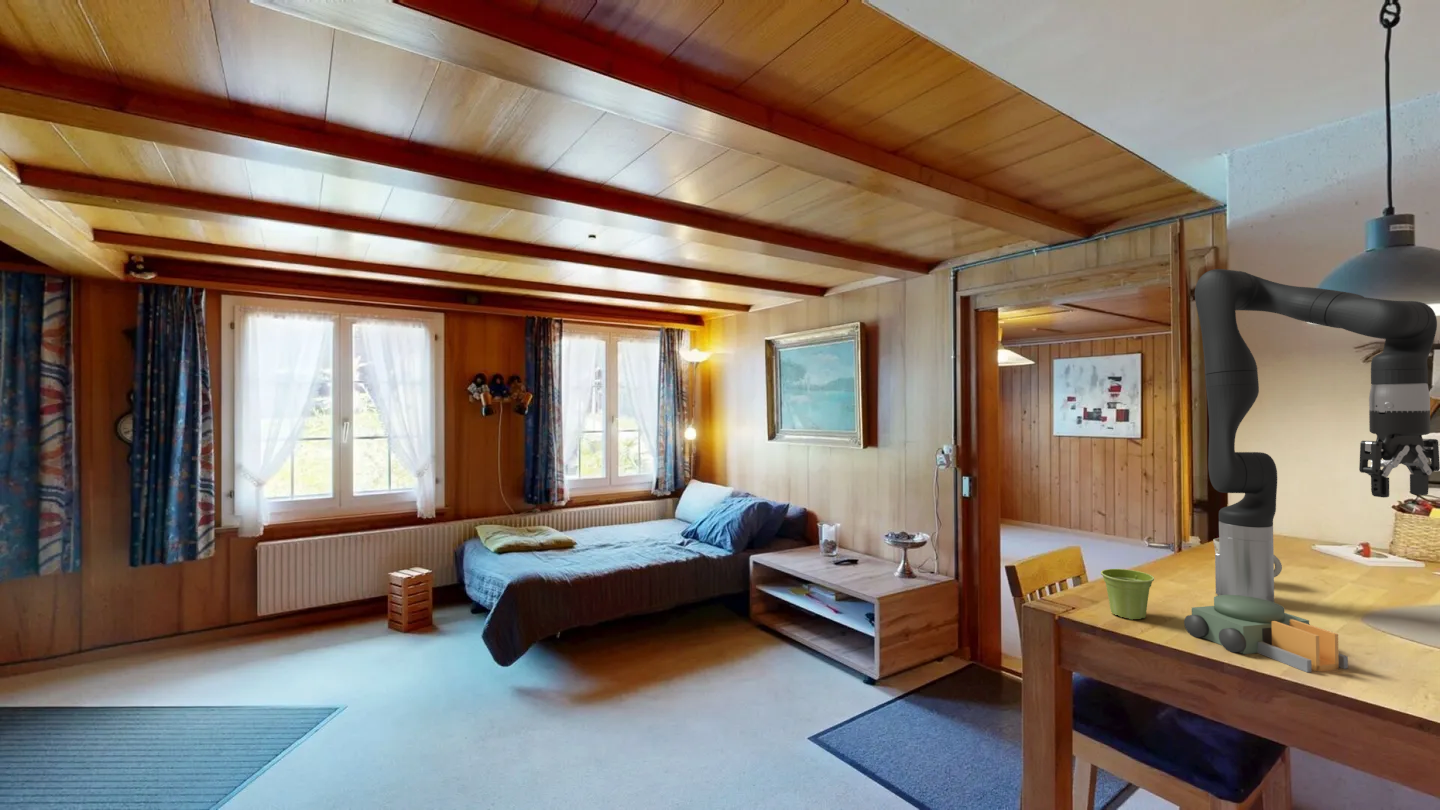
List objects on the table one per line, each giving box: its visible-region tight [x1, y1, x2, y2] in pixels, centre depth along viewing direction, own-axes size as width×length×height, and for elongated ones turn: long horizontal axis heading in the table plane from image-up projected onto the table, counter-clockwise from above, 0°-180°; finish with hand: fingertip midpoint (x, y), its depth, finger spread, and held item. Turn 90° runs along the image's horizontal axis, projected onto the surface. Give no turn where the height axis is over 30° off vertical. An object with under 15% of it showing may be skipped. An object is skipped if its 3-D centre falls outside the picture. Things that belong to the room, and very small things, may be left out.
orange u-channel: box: [1272, 619, 1340, 672], centre depth 104 cm, size 7×4×6 cm, turn 9°
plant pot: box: [1100, 568, 1155, 620], centre depth 128 cm, size 9×9×9 cm
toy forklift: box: [1183, 594, 1349, 673], centre depth 110 cm, size 18×16×7 cm
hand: (1399, 495), depth 112 cm, fingers open, 8 cm apart
